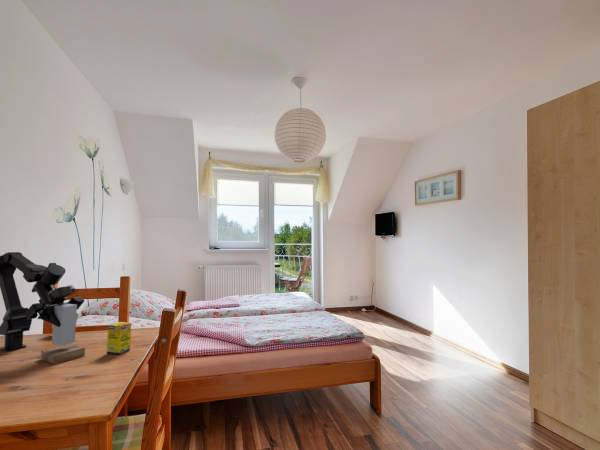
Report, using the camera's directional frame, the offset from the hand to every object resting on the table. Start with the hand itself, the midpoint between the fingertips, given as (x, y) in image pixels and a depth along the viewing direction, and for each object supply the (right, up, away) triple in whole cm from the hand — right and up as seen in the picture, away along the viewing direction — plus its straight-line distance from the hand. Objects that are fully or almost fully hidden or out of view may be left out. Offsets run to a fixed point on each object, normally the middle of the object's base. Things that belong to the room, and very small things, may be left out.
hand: (67, 324), depth 123 cm
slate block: (-1, -7, 0) cm, 7 cm away
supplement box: (+16, -13, +6) cm, 21 cm away
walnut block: (-1, -12, 0) cm, 12 cm away
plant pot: (-23, -14, +32) cm, 42 cm away
